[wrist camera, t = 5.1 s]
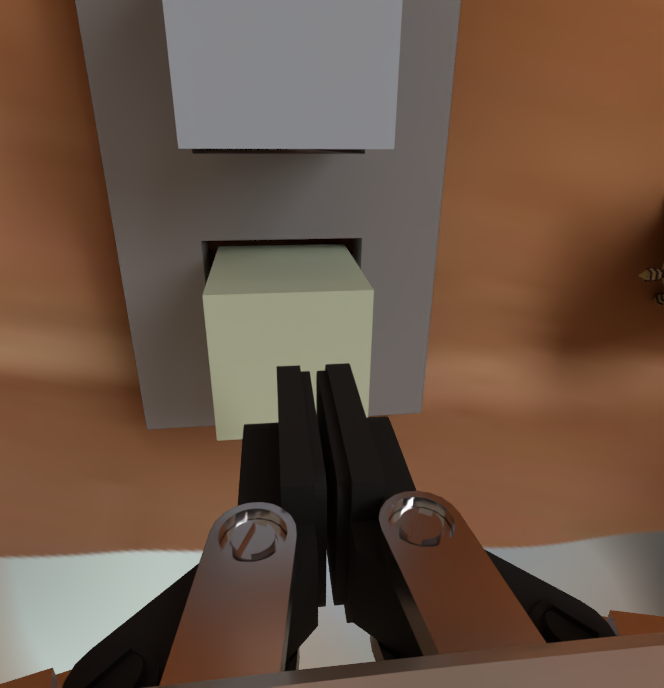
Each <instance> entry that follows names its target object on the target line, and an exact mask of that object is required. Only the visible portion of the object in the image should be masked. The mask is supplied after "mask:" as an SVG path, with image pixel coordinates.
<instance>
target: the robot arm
mask: <svg viewBox="0 0 664 688" xmlns="http://www.w3.org/2000/svg"><path fill="white" fill-rule="evenodd" d="M276 367H277V396H278V422H277V423H259V424H244V428H243V440H242V454H241V468H240V482H239V496H238V506H236V507H234V508H232V509H230V510H228V511H227V512H225V513H223V514H222V515H221V516H220V517H219V518H218V519H217V520H216V521H215V523H214V524H213V526H212V528H211V530H210V532H209V535H208V538H207V541H206V544H205V547H204V550H203V553H202V557H201V559H200V563H199V564H197V565H196V566H195V567H194V568H192V569H191V570H190V571H189V572H187V573H186V574H185V575H184V576H182V577H181V578H180V579H179V580H177V581H176V582H175V583H174V584H172V585H171V586H170V587H169V588H167V589H166V590H165V591H163V592H162V593H161V594H160V595H159V596H157V597H156V598H155V599H154V600H152V601H151V602H150V603H148V604H147V605H146V606H145V607H143V608H142V609H141V610H140V611H139V612H137V613H136V614H135V615H134V616H132V617H131V618H130V619H128V620H127V621H126V622H125V623H124V624H122V625H121V626H120V627H118V628H117V629H116V630H115V631H113V632H112V633H111V634H110V635H109V636H107V637H106V638H105V639H103V640H102V641H101V642H100V643H98V644H97V645H96V646H95V647H93V648H92V649H91V650H90V651H89V652H88V653H87V654H86V655H85V656H83V657H82V658H81V660H79V661H78V662H77V663H76V664H75V666H74V667H73V669H72V670H69V671H66V672H63V673H60V674H57V675H55V673H54V670H53V668H51V669H47V670H44V671H41V672H38V673H35V674H31V675H28V676H25V677H22V678H19V679H15V680H12V681H9V682H6V683H3V684H0V688H664V617H662V616H654V615H645V614H636V613H629V612H620V611H611V610H610V612H609V615H608V617H602V616H600V615H599V614H598V613H597V612H596V611H595V610H594V609H592V608H591V607H589V606H587V605H586V604H585V603H583V602H581V601H580V600H578V599H576V598H574V597H572V596H570V595H569V594H567V593H565V592H563V591H561V590H559V589H557V588H556V587H554V586H552V585H550V584H548V583H546V582H544V581H542V580H541V579H538V578H537V577H535V576H533V575H531V574H529V573H527V572H526V571H524V570H522V569H520V568H518V567H516V566H514V565H513V564H511V563H509V562H507V561H505V560H503V559H501V558H499V557H497V556H495V555H494V554H492V553H490V552H488V551H486V550H484V549H483V547H482V546H481V544H480V543H479V541H478V540H477V538H476V537H475V535H474V534H473V532H472V531H471V529H470V528H469V526H468V525H467V523H466V522H465V520H464V519H463V517H462V516H461V514H460V513H459V512H458V511H457V510H456V508H455V507H454V506H453V505H452V504H451V503H449V502H448V501H446V500H445V499H443V498H442V497H439V496H437V495H434V494H431V493H428V492H421V491H416V488H415V486H414V483H413V481H412V478H411V475H410V473H409V470H408V467H407V465H406V462H405V459H404V457H403V454H402V451H401V449H400V446H399V444H398V441H397V438H396V436H395V433H394V430H393V428H392V425H391V422H390V420H389V418H388V417H368V418H366V415H365V411H364V408H363V405H362V402H361V399H360V395H359V392H358V389H357V386H356V382H355V379H354V376H353V373H352V369H351V366H350V364H349V363H343V364H326V365H325V370H323V371H317V374H316V409H315V402H314V396H313V389H312V383H311V376H310V371H301V369H300V365H297V366H276ZM326 549H327V557H328V564H329V572H330V579H331V587H332V595H333V602H334V605H344V607H345V614H346V620H347V623H351V622H353V623H355V624H356V625H357V626H359V627H360V628H362V629H363V630H364V631H366V632H367V633H368V634H370V642H371V648H372V652H373V655H374V658H375V661H376V662H367V663H358V664H349V665H339V666H330V667H321V668H313V669H303V670H299V659H300V658H299V657H300V656H299V647H300V646H301V644H302V643H303V642H304V641H305V640H306V639H307V638H308V637H309V635H310V634H311V633H312V632H313V631H314V630H315V629H316V627H317V626H318V607H323V606H326Z"/></svg>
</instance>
